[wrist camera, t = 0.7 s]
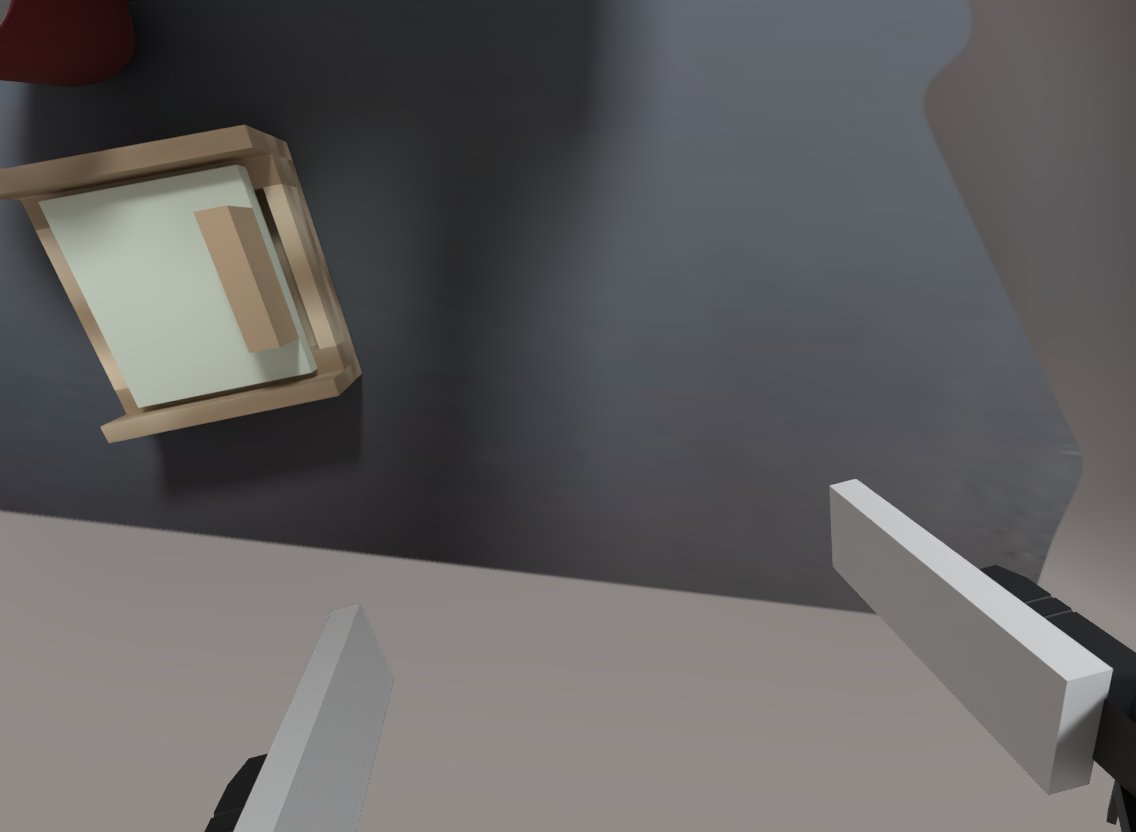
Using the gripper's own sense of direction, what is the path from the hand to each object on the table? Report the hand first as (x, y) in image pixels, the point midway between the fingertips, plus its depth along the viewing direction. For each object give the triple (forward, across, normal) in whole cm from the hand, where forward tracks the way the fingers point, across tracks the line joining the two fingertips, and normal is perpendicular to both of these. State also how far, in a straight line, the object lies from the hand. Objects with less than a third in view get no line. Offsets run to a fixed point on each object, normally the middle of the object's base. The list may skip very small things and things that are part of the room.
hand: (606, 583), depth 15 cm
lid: (+21, -18, +10) cm, 29 cm away
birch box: (+24, -18, +10) cm, 31 cm away
